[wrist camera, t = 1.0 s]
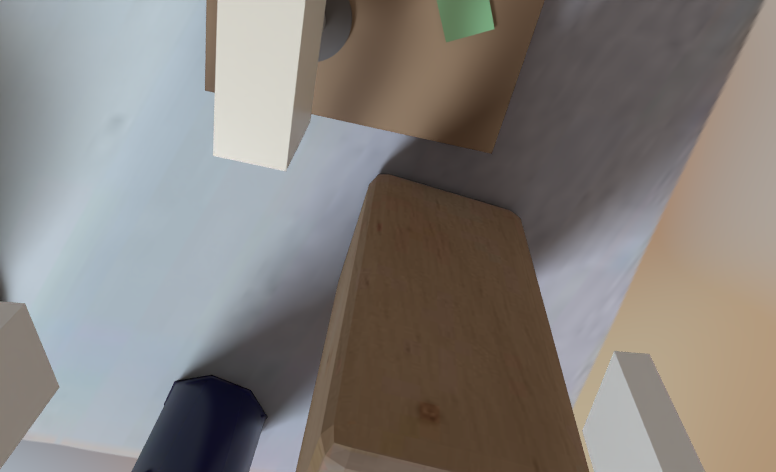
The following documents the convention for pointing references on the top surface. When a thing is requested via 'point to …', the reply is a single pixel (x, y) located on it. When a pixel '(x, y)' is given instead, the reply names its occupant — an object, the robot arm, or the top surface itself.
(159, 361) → the top surface
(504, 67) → the board
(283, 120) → the cream block and rod
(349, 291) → the wooden block
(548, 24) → the top surface
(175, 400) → the bottle
